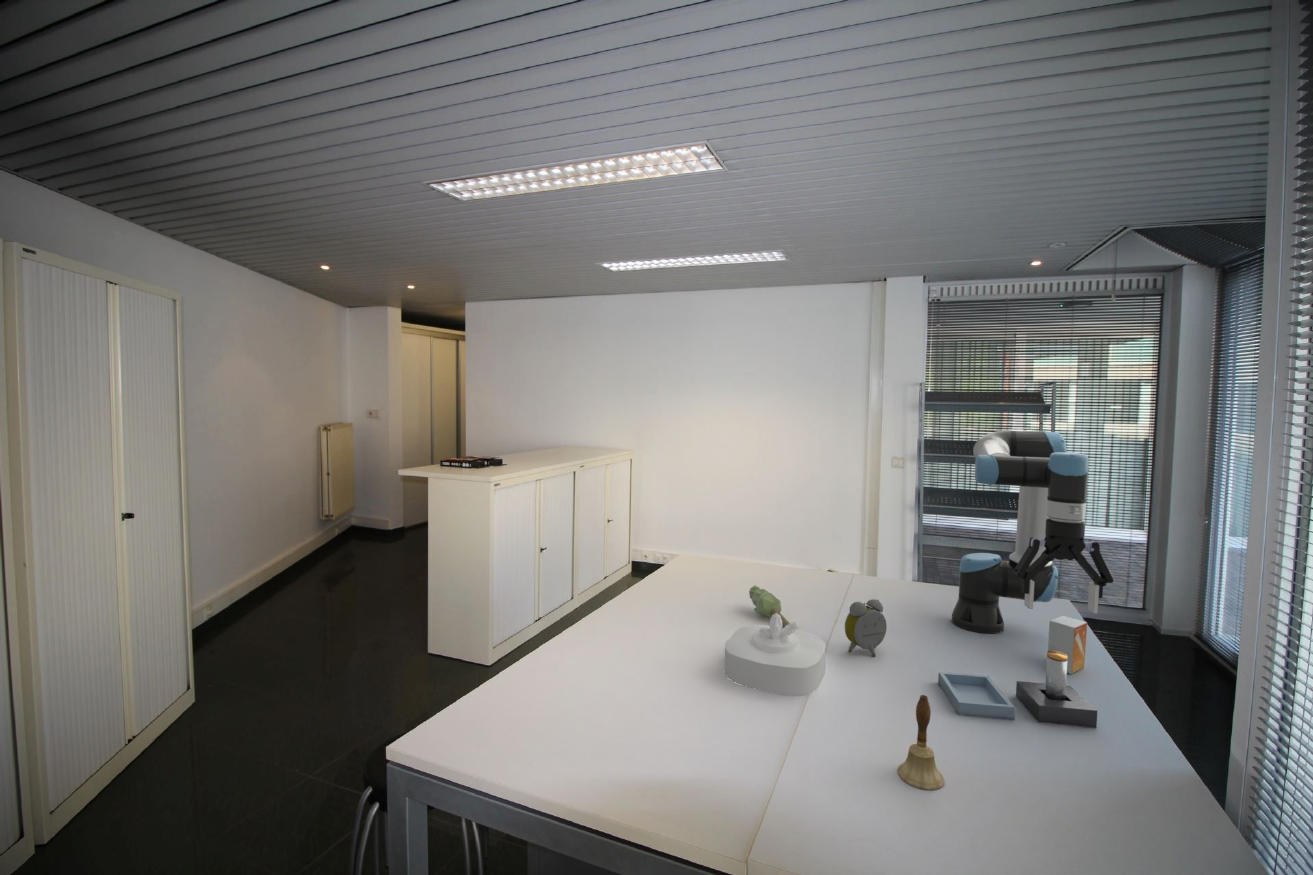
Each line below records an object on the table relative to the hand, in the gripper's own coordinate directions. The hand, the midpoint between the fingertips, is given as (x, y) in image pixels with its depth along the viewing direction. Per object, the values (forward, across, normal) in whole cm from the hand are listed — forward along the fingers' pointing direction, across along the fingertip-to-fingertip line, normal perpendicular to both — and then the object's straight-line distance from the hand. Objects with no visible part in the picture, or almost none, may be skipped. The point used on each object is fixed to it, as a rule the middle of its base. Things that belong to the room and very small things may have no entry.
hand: (1060, 609), depth 139 cm
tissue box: (+25, -65, +9) cm, 70 cm away
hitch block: (+25, 0, 0) cm, 25 cm away
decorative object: (+25, -65, +49) cm, 85 cm away
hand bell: (+25, -38, -32) cm, 55 cm away
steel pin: (+25, 0, 0) cm, 25 cm away
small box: (+25, +15, +27) cm, 40 cm away
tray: (+25, -17, +2) cm, 30 cm away
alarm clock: (+25, -38, +26) cm, 52 cm away
